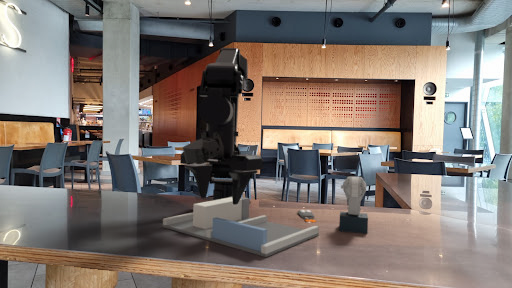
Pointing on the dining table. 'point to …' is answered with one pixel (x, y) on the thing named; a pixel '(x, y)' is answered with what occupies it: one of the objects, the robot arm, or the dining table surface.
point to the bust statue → (354, 206)
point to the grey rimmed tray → (244, 233)
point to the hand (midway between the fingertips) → (218, 201)
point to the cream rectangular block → (219, 211)
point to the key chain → (307, 215)
